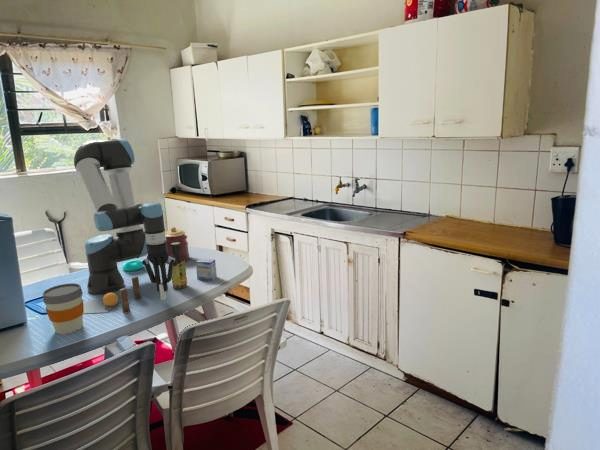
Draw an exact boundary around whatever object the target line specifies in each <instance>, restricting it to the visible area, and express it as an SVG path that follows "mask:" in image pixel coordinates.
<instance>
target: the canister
mask: <svg viewBox="0 0 600 450" xmlns="http://www.w3.org/2000/svg"><path fill="white" fill-rule="evenodd" d="M165 235H166V242H167V250H168V254H169V256H170V257H171V256H172V248H171V243H175V242H179V243H180V244H181V246H180V248H181V253H182V255H183V258H184V260H185V262H187V261H188V260H189V259H190V253H189V245H188V244H189V242H188V241H187V239H188V235H186V232H185V231H183V230H181V229H176V227H175V226H173V227H171V228H170V230H165ZM168 261H169V260H167V261H166V263H167V264H169V262H168ZM166 263H165V264H166Z"/></svg>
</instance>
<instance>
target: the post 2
mask: <svg viewBox="0 0 600 450" xmlns="http://www.w3.org/2000/svg"><path fill="white" fill-rule="evenodd" d="M131 284H132V290H133V297H134V300H140V299H141V298H142V294H141V288H140V280H139V277H138V276H133V277H131Z"/></svg>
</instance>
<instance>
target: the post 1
mask: <svg viewBox="0 0 600 450" xmlns="http://www.w3.org/2000/svg"><path fill="white" fill-rule="evenodd" d="M119 296H120V297H119V298H121V300H120V303H121V309H122V313H125V312H126V313H129V312H131V309H130V307H131V306H130V302H129V295H128V290H127V288H125V287H124V288H123V287H122V288H120V289H119ZM126 313H125V314H126Z"/></svg>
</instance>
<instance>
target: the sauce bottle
mask: <svg viewBox="0 0 600 450" xmlns="http://www.w3.org/2000/svg"><path fill="white" fill-rule="evenodd" d="M180 246H181V244H180V243H179V242H175V243H171V248H172V256H171V257H172V258H175V259H176V260H175V261H174V264H173V271H172V279H171V284H172V287H173V289H175V290H180V289H184V288H186V287H187V286H188V284H187V283H188V280H187V279H188V278H187V269H186V268H187V267H186V261H185V260H184V258H183V255H182V253H181V248H180Z"/></svg>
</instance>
